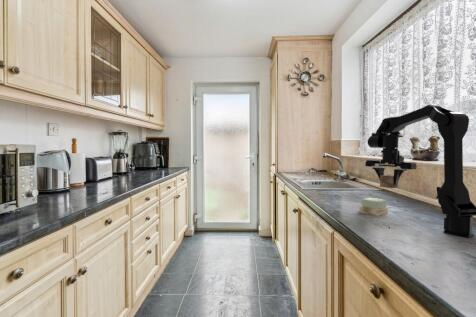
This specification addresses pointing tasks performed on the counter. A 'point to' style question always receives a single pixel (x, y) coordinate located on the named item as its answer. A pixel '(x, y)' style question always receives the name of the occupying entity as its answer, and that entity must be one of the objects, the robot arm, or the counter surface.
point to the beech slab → (373, 211)
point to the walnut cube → (387, 181)
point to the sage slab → (374, 203)
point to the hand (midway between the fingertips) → (388, 184)
